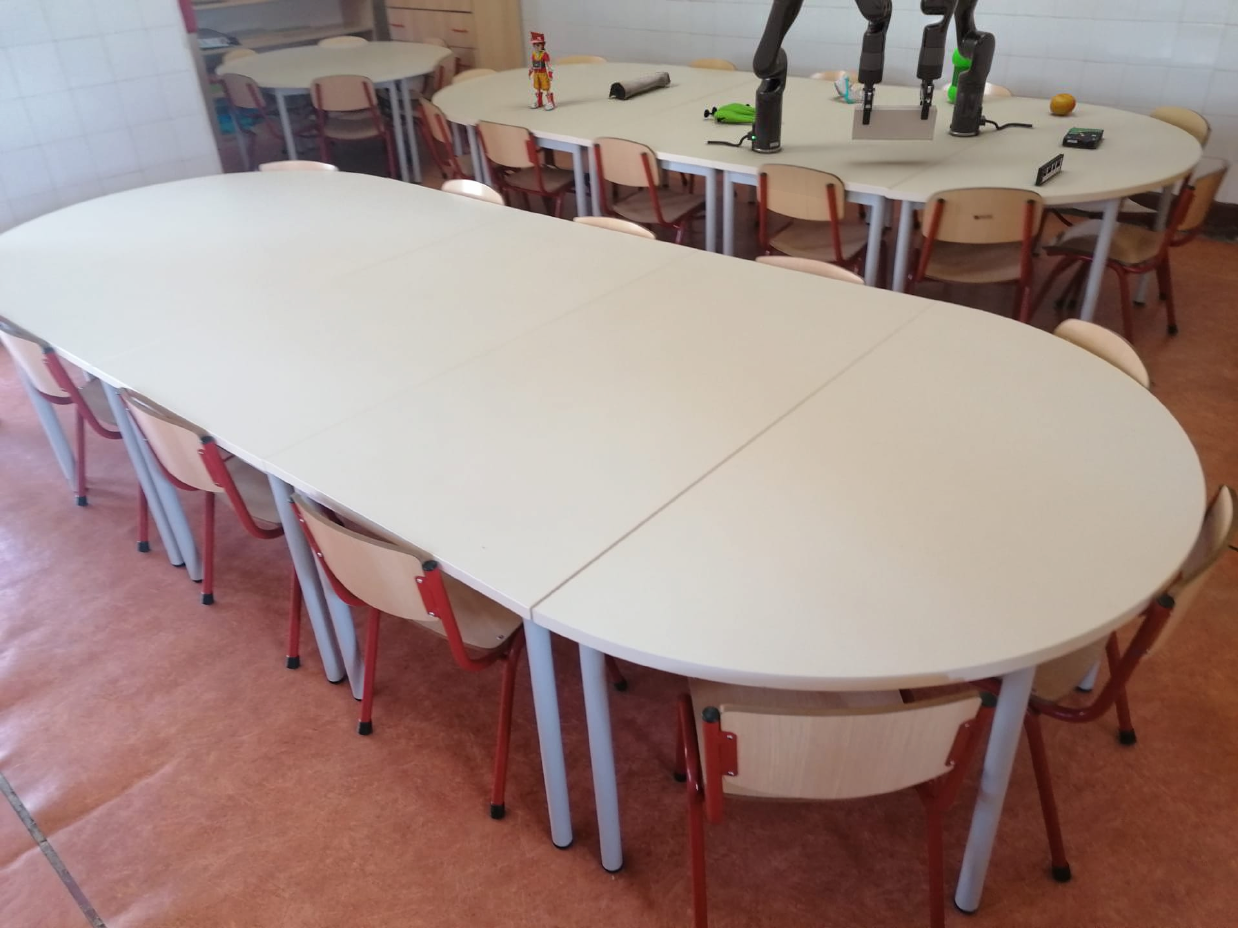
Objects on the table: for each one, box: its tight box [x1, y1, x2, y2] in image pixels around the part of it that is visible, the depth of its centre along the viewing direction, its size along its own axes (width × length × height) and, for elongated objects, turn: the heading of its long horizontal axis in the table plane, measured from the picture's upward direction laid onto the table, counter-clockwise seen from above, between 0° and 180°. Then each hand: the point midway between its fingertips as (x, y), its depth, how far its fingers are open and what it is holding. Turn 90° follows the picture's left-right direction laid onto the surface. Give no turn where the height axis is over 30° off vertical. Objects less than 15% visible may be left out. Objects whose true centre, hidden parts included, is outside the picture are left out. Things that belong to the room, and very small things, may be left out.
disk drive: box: [1062, 127, 1105, 149], centre depth 302 cm, size 10×3×15 cm
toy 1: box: [527, 31, 556, 111], centre depth 374 cm, size 12×9×30 cm
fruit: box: [1049, 93, 1077, 116], centre depth 330 cm, size 8×8×8 cm
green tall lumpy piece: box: [947, 47, 972, 104], centre depth 347 cm, size 10×10×25 cm
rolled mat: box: [608, 71, 672, 101], centre depth 395 cm, size 30×9×10 cm
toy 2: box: [703, 102, 755, 124], centre depth 348 cm, size 28×5×30 cm
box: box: [851, 104, 938, 141], centre depth 288 cm, size 25×6×9 cm, turn 78°
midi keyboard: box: [1035, 153, 1065, 186], centre depth 273 cm, size 18×1×5 cm, turn 138°
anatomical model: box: [833, 74, 863, 104], centre depth 365 cm, size 15×10×10 cm
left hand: (865, 121), depth 290 cm, fingers closed on box, 6 cm apart
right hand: (923, 116), depth 286 cm, fingers open, 8 cm apart
